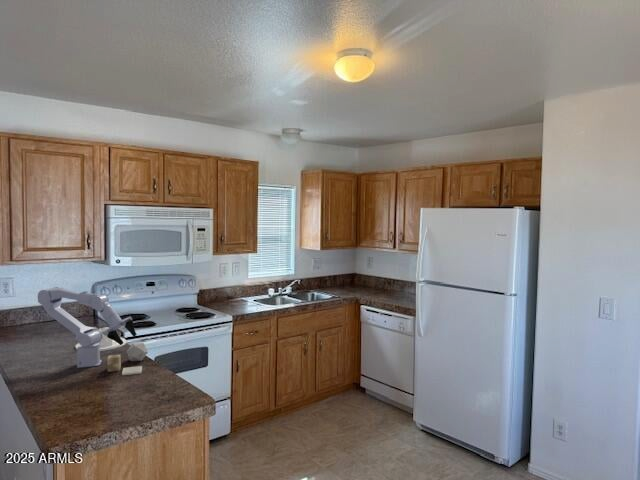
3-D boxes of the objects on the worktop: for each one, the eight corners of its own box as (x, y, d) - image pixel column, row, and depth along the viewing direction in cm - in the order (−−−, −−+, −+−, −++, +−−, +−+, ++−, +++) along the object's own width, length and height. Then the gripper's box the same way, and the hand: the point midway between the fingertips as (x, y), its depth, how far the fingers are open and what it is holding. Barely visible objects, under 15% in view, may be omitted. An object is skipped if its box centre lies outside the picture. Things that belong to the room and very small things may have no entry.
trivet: (121, 375, 196) (121, 373, 196) (123, 369, 204) (123, 367, 204) (141, 373, 199) (141, 371, 199) (142, 367, 206) (142, 365, 206)
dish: (127, 348, 238) (126, 327, 237) (73, 354, 227) (73, 332, 226) (125, 337, 260) (124, 318, 259) (76, 342, 249) (75, 322, 248)
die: (134, 365, 211) (147, 347, 214) (119, 355, 213) (133, 337, 215) (141, 366, 219) (153, 348, 222) (127, 356, 221) (139, 338, 223)
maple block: (107, 371, 201) (107, 358, 201) (109, 368, 206) (108, 355, 205) (119, 370, 203) (119, 357, 202) (120, 367, 207) (120, 354, 207)
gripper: (100, 320, 200) (119, 344, 200) (127, 306, 212) (144, 328, 212) (95, 327, 204) (113, 350, 204) (121, 312, 216) (138, 334, 216)
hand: (128, 339), depth 208 cm, fingers open, 7 cm apart
